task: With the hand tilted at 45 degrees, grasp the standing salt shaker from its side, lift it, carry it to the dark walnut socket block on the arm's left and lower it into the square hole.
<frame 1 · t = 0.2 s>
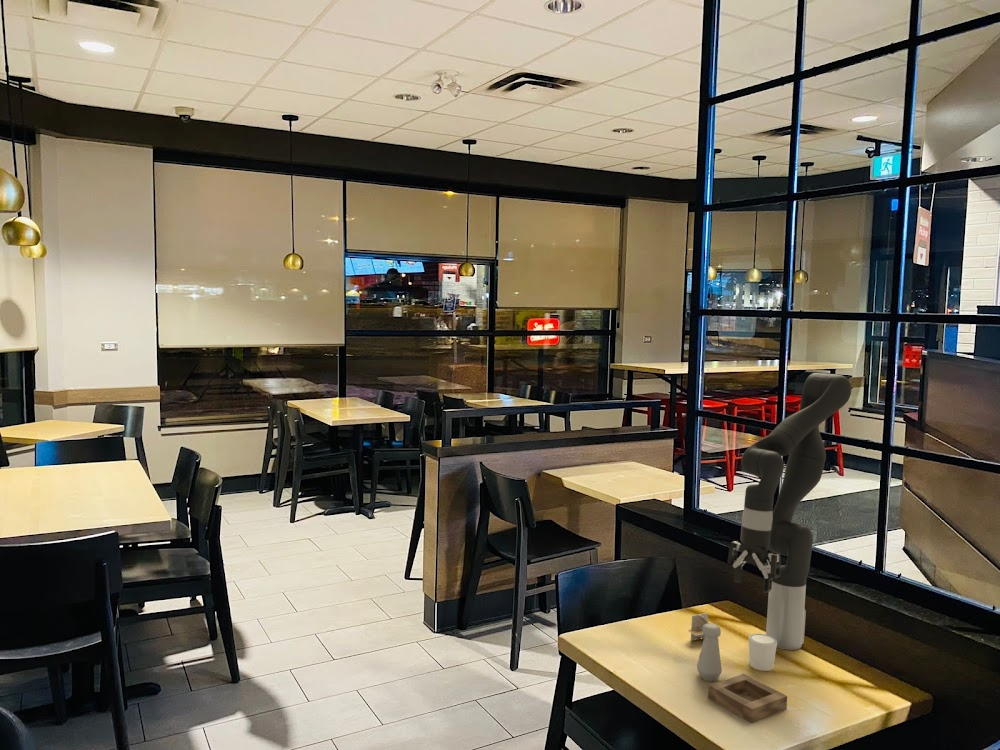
hand: (751, 587, 194), 18 cm above the table, tool pointing down, fingers open, 8 cm apart
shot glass: (761, 666, 188), on the table
architectural model: (701, 642, 202), on the table
socket: (746, 703, 169), on the table
salt shaker: (708, 678, 181), on the table
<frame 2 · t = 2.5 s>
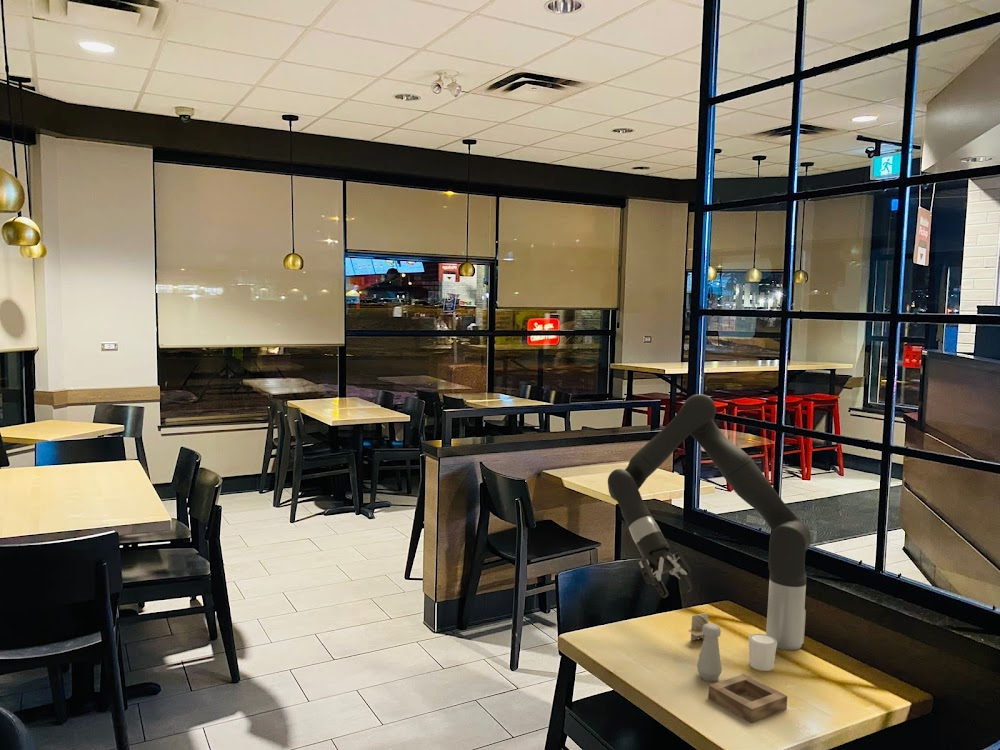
hand: (677, 593, 189), 17 cm above the table, tool tilted 45°, fingers open, 8 cm apart
nothing on the table moved.
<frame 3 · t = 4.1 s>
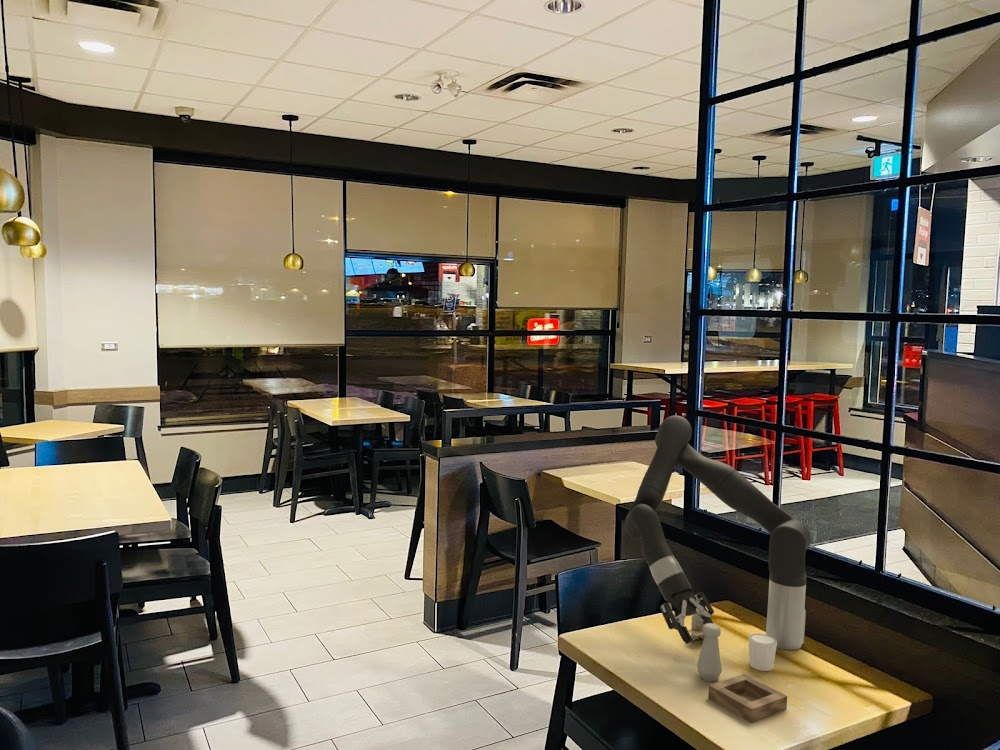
hand: (701, 638, 183), 8 cm above the table, tool tilted 45°, fingers open, 8 cm apart
nothing on the table moved.
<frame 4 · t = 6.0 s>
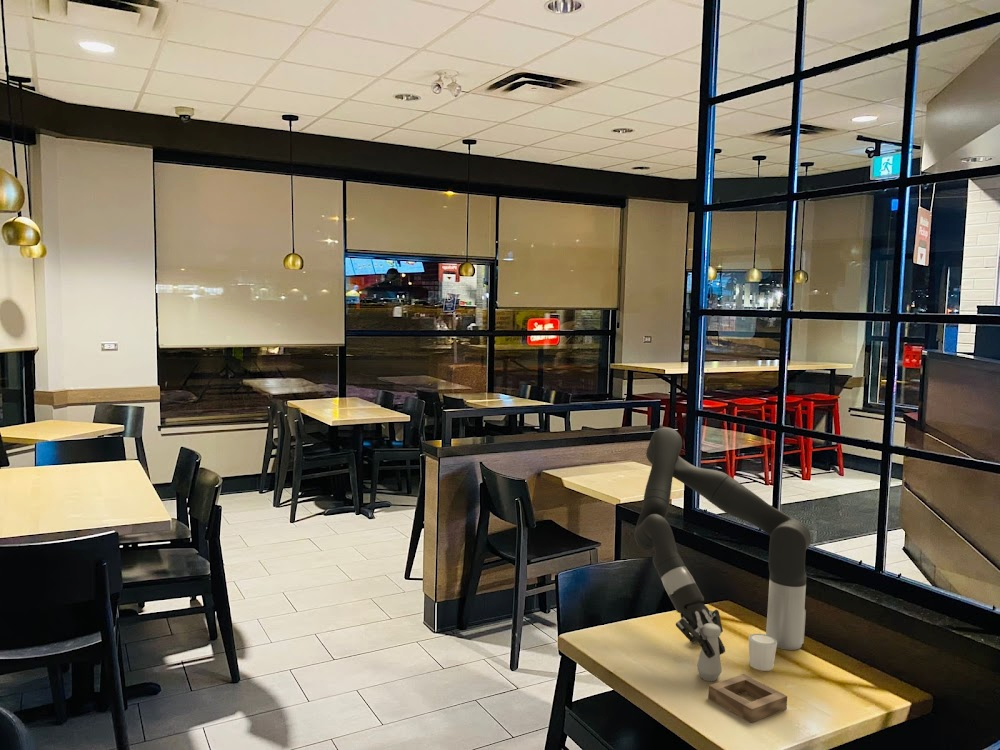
hand: (716, 654, 179), 6 cm above the table, tool tilted 45°, fingers closed on salt shaker, 3 cm apart
salt shaker: (708, 678, 181), on the table, touching gripper
everything else where it was.
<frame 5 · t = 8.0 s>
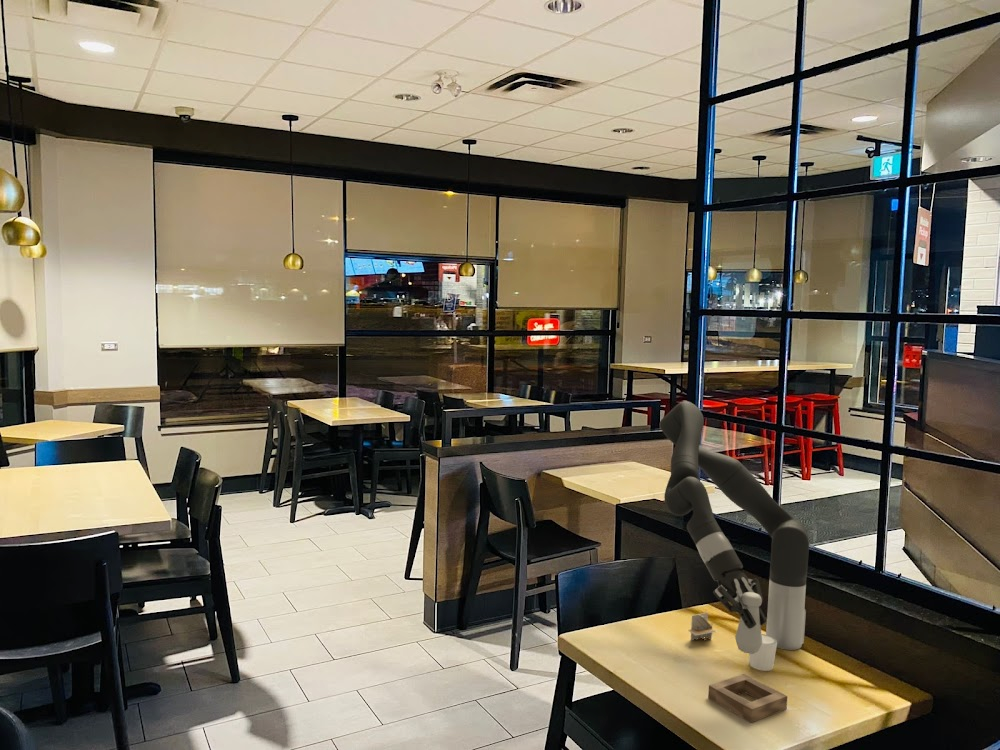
hand: (757, 625, 166), 19 cm above the table, tool tilted 45°, fingers closed on salt shaker, 3 cm apart
salt shaker: (747, 650, 168), point 12 cm above the table, touching gripper
everything else where it was.
when the fingers open (8 cm above the table, at t = 10.3 s): salt shaker drops 1 cm, resting in socket.
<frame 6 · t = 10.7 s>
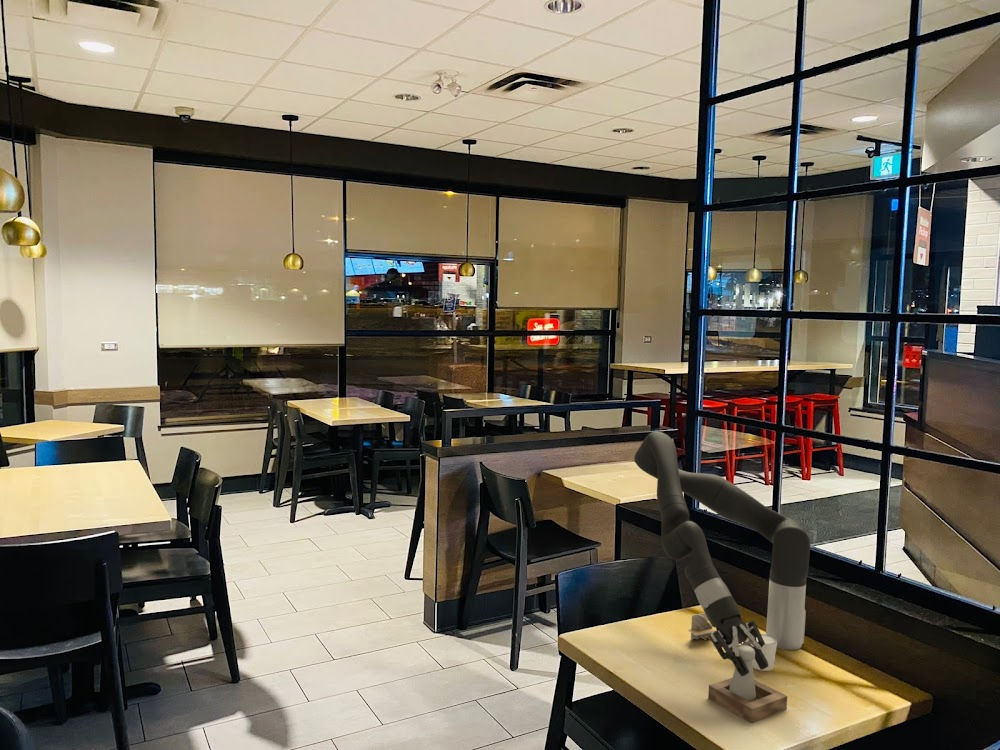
hand: (755, 671, 167), 8 cm above the table, tool tilted 45°, fingers open, 6 cm apart
salt shaker: (741, 703, 169), resting in socket
everything else where it was.
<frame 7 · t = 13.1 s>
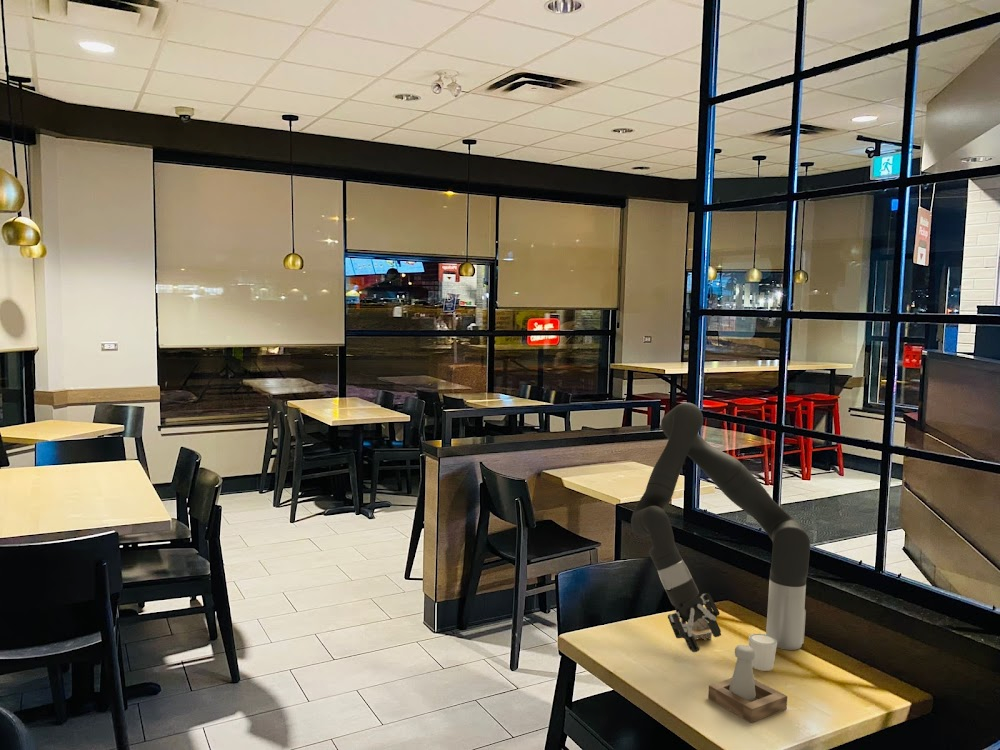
hand: (707, 643, 185), 6 cm above the table, tool tilted 30°, fingers open, 8 cm apart
nothing on the table moved.
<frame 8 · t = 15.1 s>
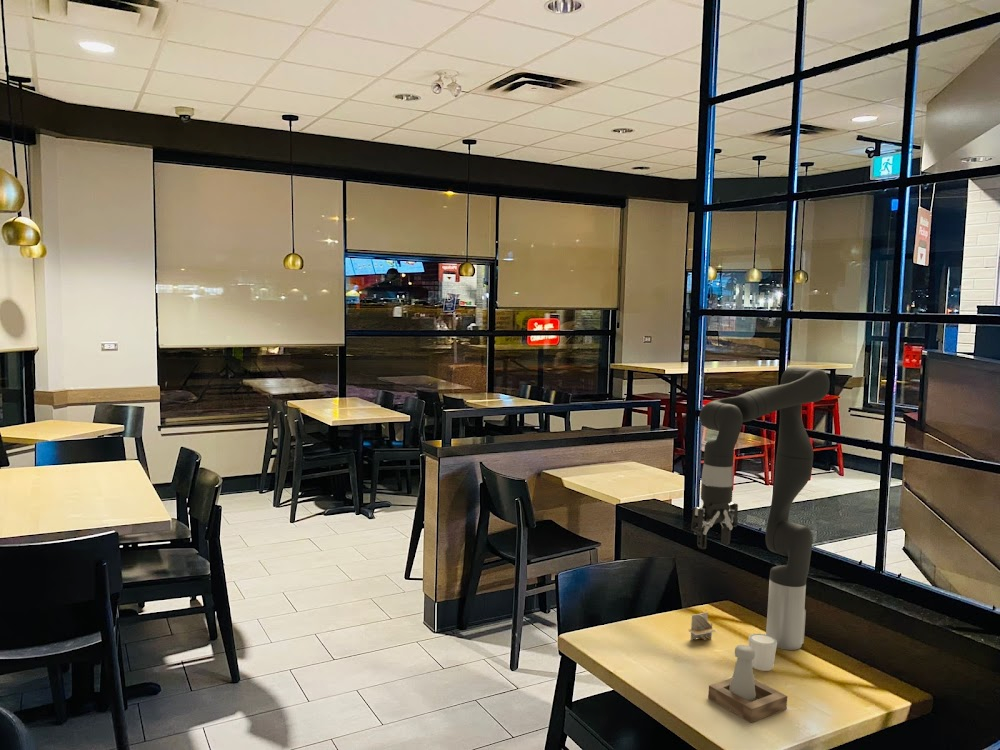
hand: (713, 546, 187), 30 cm above the table, tool pointing down, fingers open, 8 cm apart
nothing on the table moved.
at the end: salt shaker 1.1 cm off-centre on the socket, point 0.0 cm above the socket's base; salt shaker tilted 0°; the gripper is holding nothing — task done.
